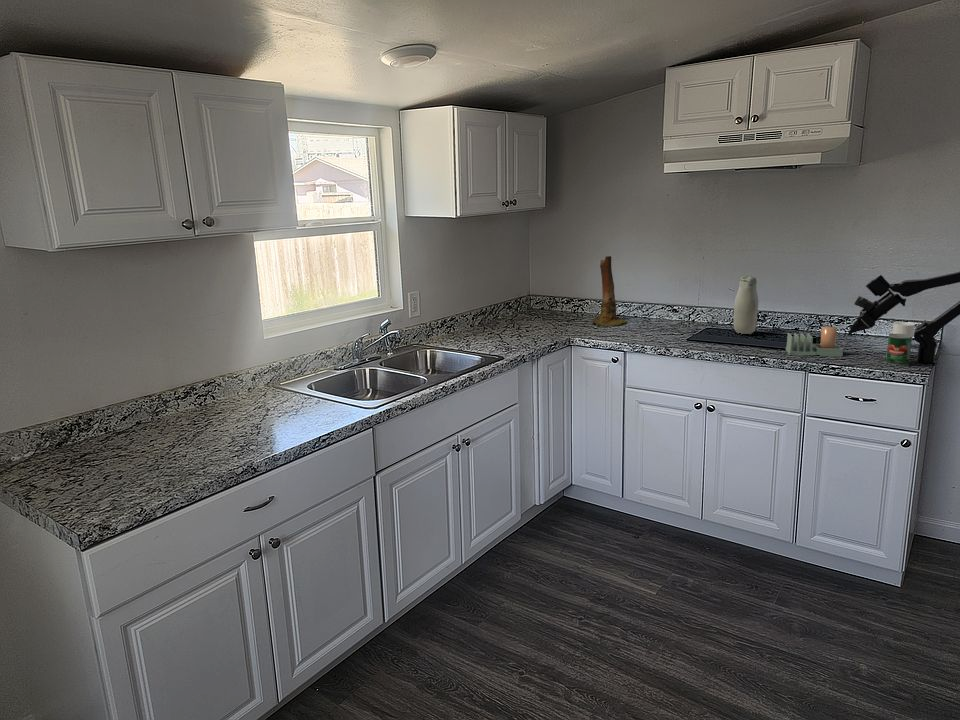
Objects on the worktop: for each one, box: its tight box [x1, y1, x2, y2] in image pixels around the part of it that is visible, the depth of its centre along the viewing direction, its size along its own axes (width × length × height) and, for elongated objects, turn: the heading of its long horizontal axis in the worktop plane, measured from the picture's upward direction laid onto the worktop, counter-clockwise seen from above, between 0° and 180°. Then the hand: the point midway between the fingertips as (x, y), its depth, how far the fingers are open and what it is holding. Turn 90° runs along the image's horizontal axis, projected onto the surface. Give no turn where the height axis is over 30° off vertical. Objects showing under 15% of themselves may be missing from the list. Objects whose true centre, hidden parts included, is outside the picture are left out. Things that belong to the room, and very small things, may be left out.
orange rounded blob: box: [819, 325, 838, 349], centre depth 284 cm, size 6×6×11 cm
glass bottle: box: [733, 274, 759, 335], centre depth 324 cm, size 10×10×28 cm
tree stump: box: [592, 255, 628, 327], centre depth 359 cm, size 20×16×35 cm
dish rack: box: [785, 332, 844, 357], centre depth 286 cm, size 10×20×8 cm, turn 76°
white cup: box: [892, 321, 916, 339], centre depth 293 cm, size 8×8×10 cm
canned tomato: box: [885, 333, 913, 367], centre depth 266 cm, size 8×8×11 cm
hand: (850, 330), depth 279 cm, fingers open, 9 cm apart
